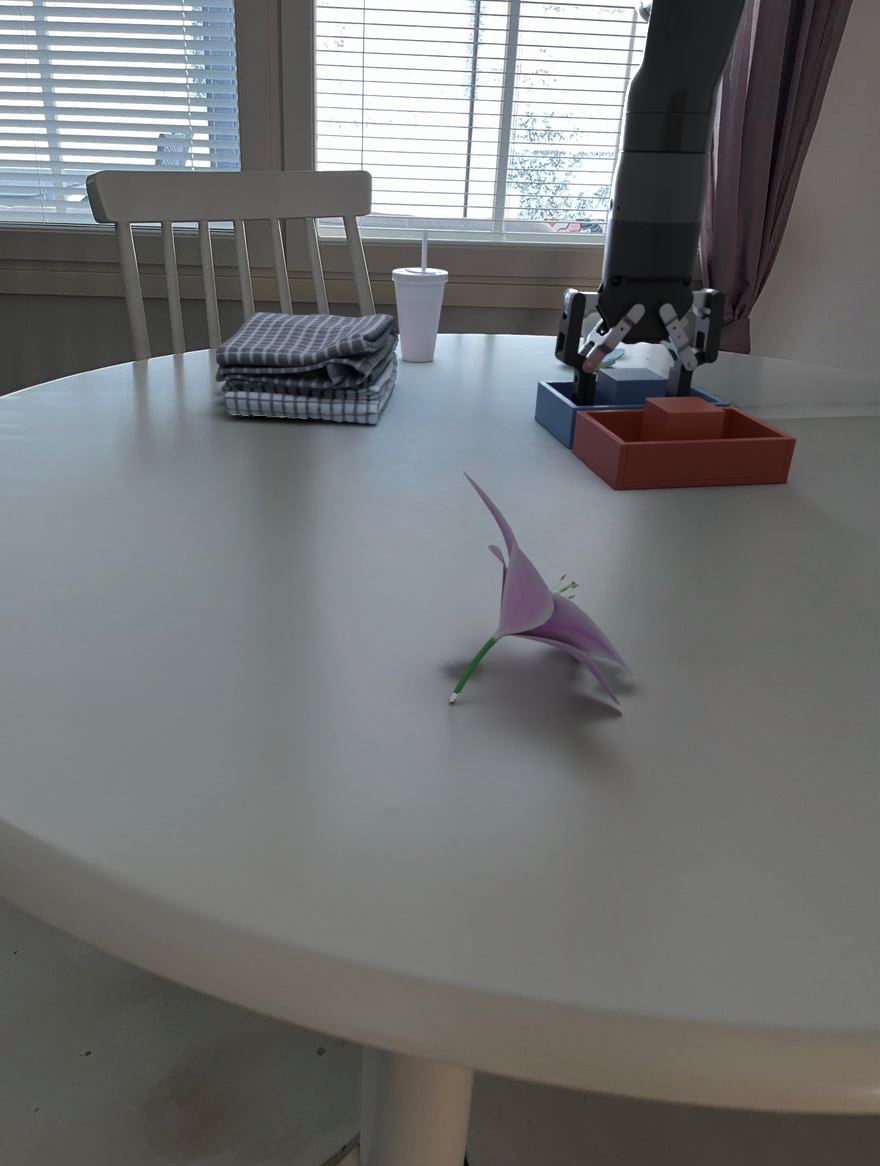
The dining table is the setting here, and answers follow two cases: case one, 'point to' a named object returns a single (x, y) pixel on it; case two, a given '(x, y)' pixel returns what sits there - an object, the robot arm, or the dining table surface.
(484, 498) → the lily
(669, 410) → the red block
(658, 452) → the red bin
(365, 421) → the towel
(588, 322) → the pacifier
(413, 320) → the smoothie
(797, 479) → the dining table surface
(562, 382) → the blue bin
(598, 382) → the blue block
